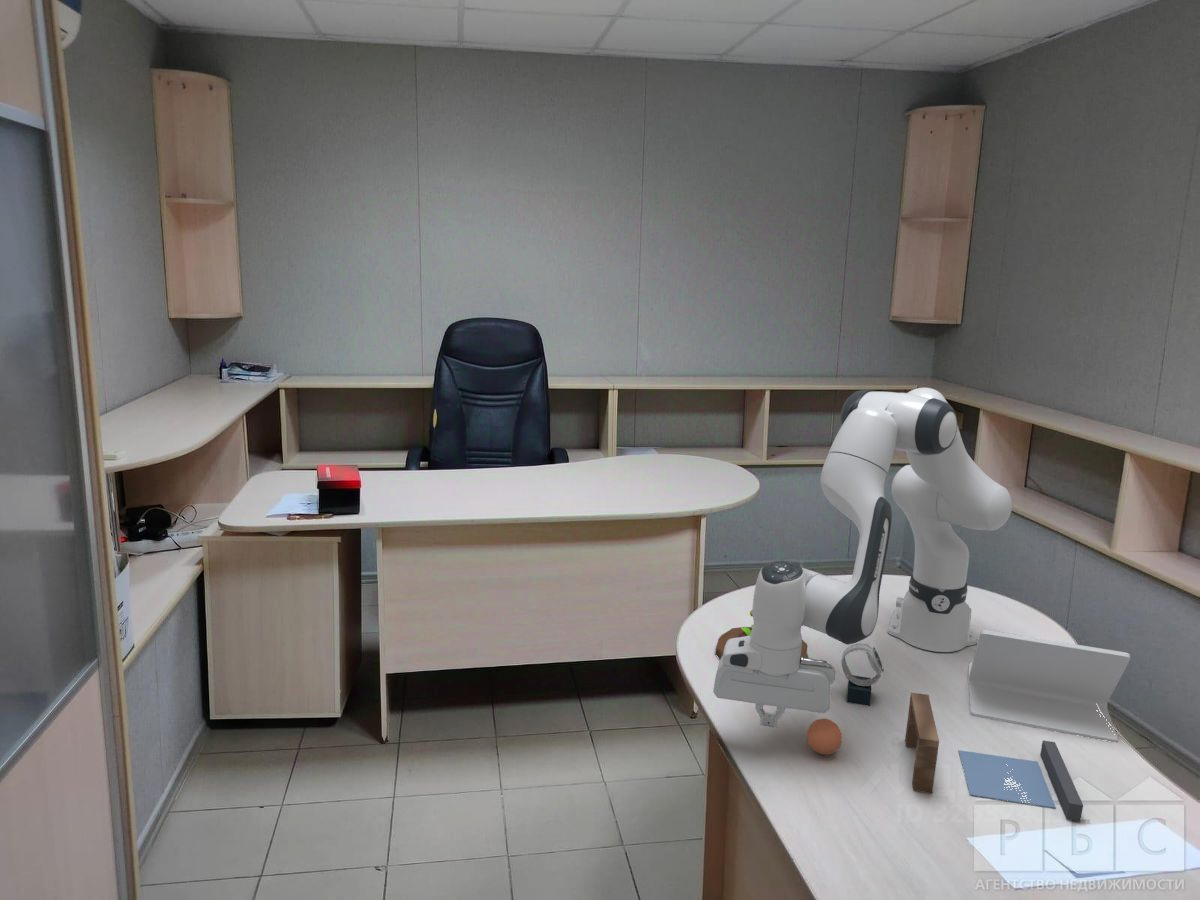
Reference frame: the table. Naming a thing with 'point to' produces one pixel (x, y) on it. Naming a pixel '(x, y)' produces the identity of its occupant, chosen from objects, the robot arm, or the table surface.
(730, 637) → the plant
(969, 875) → the table surface
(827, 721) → the ball
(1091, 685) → the tablet stand
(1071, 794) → the stopper
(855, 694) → the watch
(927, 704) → the bridge
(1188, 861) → the table surface
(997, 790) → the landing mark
